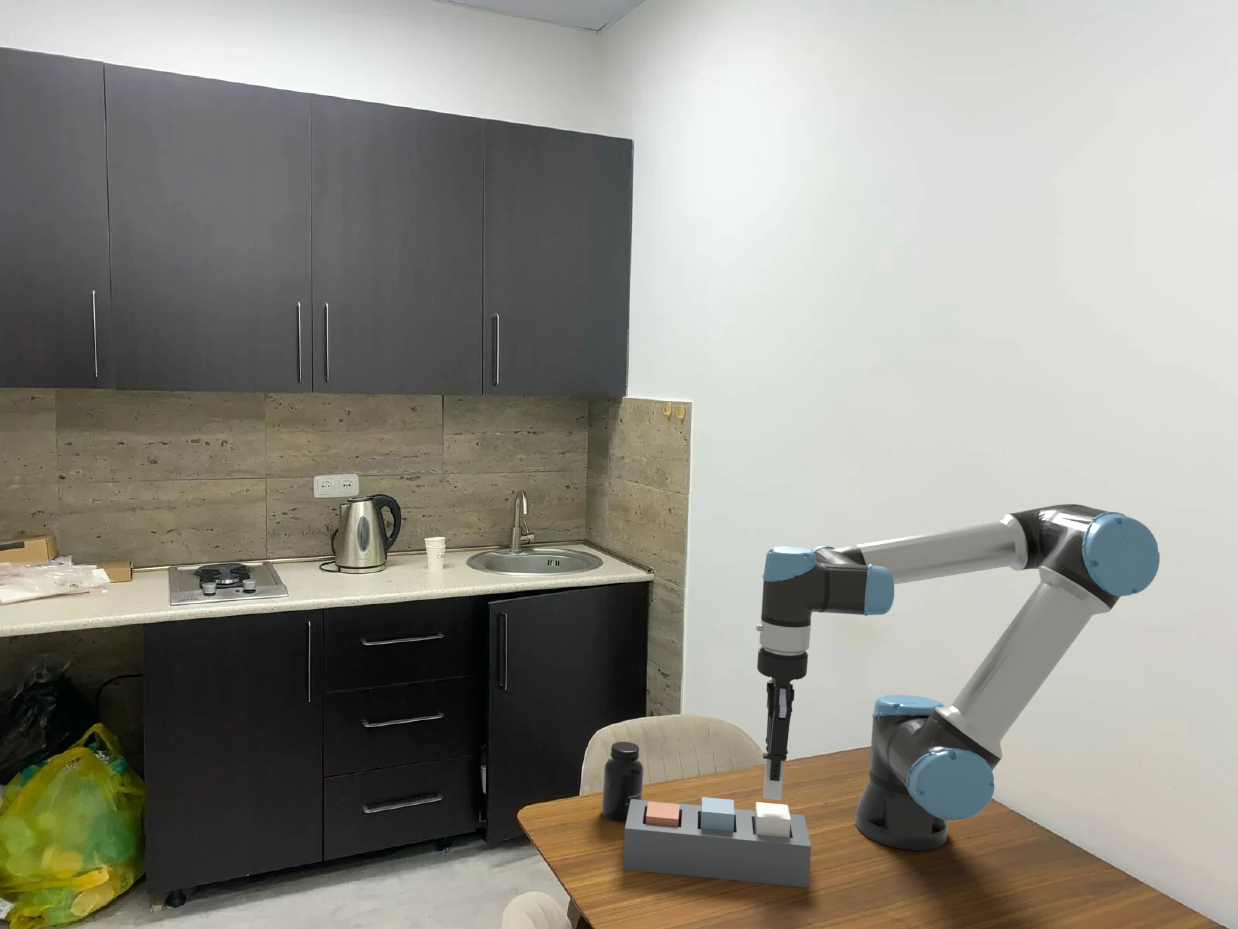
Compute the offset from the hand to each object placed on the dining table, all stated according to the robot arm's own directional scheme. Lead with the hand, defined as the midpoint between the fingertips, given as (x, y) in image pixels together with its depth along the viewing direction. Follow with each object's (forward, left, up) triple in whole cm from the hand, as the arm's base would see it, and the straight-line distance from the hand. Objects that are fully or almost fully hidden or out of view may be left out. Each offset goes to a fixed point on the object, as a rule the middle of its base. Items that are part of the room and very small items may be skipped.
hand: (772, 797), depth 140 cm
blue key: (+8, 0, -7) cm, 11 cm away
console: (+8, 0, -11) cm, 14 cm away
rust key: (+17, 0, -9) cm, 19 cm away
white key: (0, 0, -7) cm, 7 cm away
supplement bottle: (+24, -13, -12) cm, 30 cm away
